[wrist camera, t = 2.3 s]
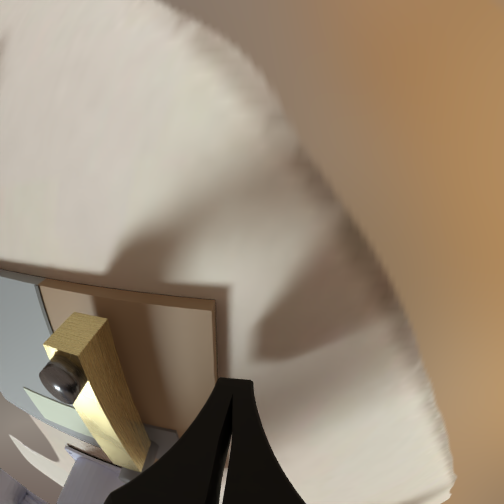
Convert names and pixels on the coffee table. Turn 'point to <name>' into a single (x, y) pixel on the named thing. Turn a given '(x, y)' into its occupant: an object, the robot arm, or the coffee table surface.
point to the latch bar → (96, 387)
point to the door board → (128, 349)
